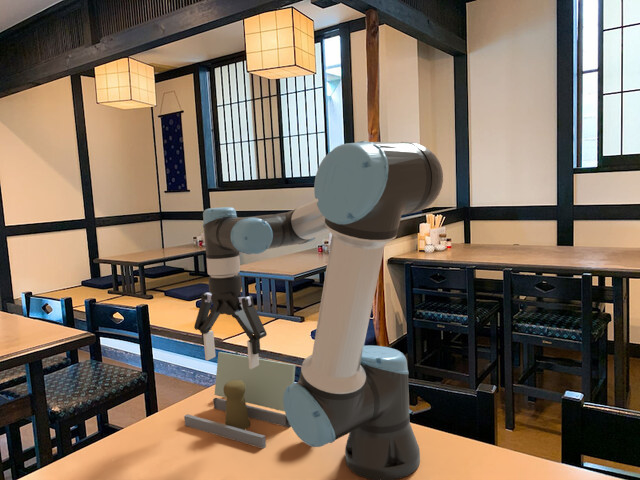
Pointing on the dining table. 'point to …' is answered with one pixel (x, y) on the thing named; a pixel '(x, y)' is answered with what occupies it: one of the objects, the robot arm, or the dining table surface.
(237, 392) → the olive pepper mill
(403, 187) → the robot arm
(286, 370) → the lid
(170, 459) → the dining table surface
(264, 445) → the gray parallel rails
